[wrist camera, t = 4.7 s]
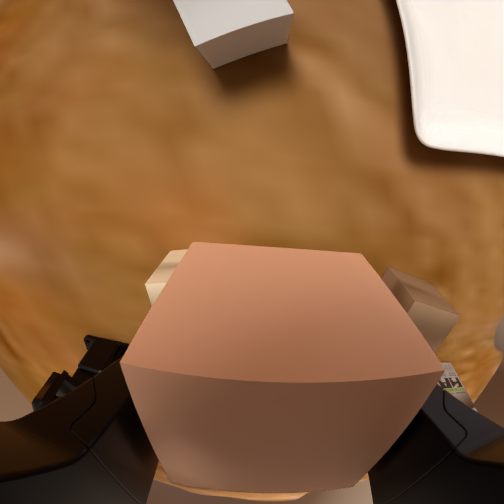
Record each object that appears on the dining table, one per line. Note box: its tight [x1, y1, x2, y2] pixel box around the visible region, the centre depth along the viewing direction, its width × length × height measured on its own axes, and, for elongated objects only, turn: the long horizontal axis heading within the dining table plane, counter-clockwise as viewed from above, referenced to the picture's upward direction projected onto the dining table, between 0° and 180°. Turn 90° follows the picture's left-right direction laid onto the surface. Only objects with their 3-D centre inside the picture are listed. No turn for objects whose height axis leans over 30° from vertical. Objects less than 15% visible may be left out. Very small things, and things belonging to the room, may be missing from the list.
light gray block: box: [173, 0, 294, 69], centre depth 11 cm, size 5×5×5 cm
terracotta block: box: [120, 242, 445, 493], centre depth 7 cm, size 5×5×5 cm
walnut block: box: [381, 267, 460, 353], centre depth 18 cm, size 5×5×5 cm
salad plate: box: [396, 0, 504, 157], centre depth 10 cm, size 21×21×3 cm
